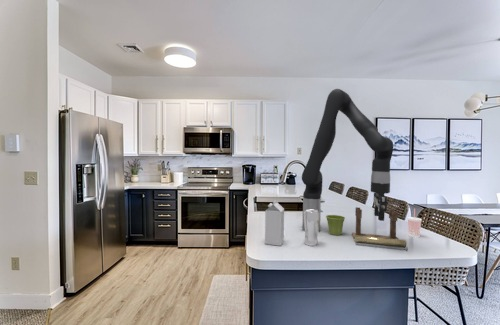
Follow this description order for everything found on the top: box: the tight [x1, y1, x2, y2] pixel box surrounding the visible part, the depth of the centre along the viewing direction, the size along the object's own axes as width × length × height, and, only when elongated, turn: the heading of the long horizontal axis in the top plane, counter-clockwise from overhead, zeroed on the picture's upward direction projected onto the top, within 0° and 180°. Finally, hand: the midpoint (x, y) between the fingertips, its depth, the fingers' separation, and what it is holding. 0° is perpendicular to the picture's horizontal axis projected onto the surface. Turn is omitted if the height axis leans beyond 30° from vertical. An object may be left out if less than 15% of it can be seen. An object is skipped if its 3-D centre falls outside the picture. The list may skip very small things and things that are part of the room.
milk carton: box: [264, 199, 285, 247], centre depth 107 cm, size 7×7×19 cm
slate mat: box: [353, 239, 408, 251], centre depth 106 cm, size 20×6×1 cm, turn 73°
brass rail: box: [354, 235, 407, 248], centre depth 106 cm, size 20×3×3 cm, turn 73°
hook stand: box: [351, 206, 399, 240], centre depth 114 cm, size 20×7×14 cm, turn 73°
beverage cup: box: [406, 208, 423, 239], centre depth 120 cm, size 6×6×14 cm
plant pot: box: [325, 214, 346, 236], centre depth 122 cm, size 9×9×9 cm
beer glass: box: [304, 209, 321, 247], centre depth 107 cm, size 7×7×15 cm
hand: (379, 218), depth 106 cm, fingers open, 8 cm apart
